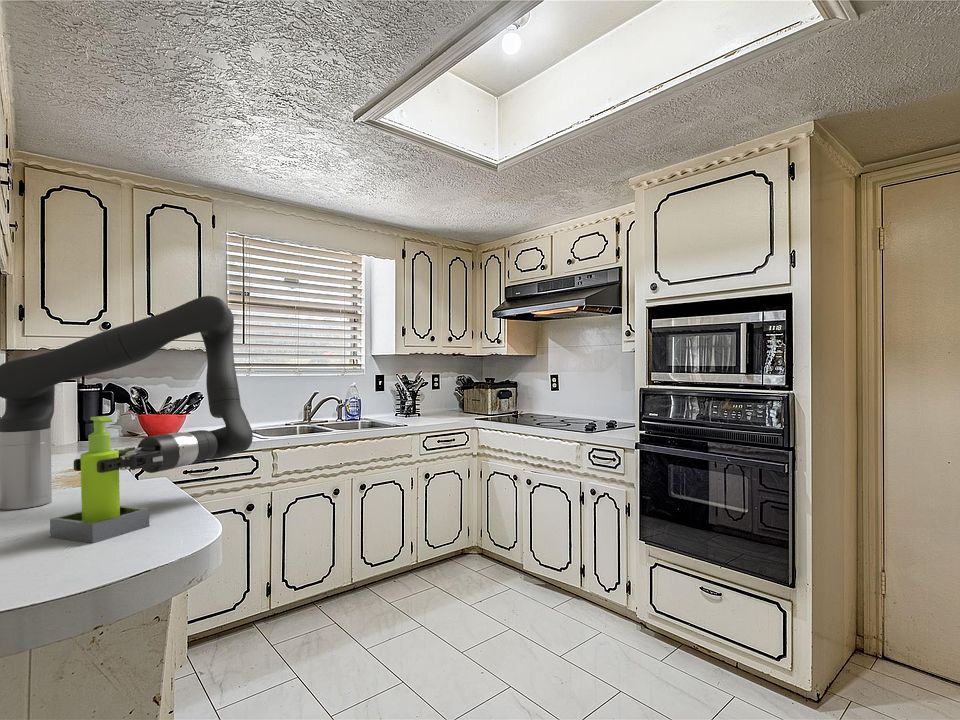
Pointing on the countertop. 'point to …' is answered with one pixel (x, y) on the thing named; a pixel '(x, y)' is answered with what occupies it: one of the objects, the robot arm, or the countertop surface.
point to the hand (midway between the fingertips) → (86, 466)
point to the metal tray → (98, 525)
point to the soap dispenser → (99, 476)
